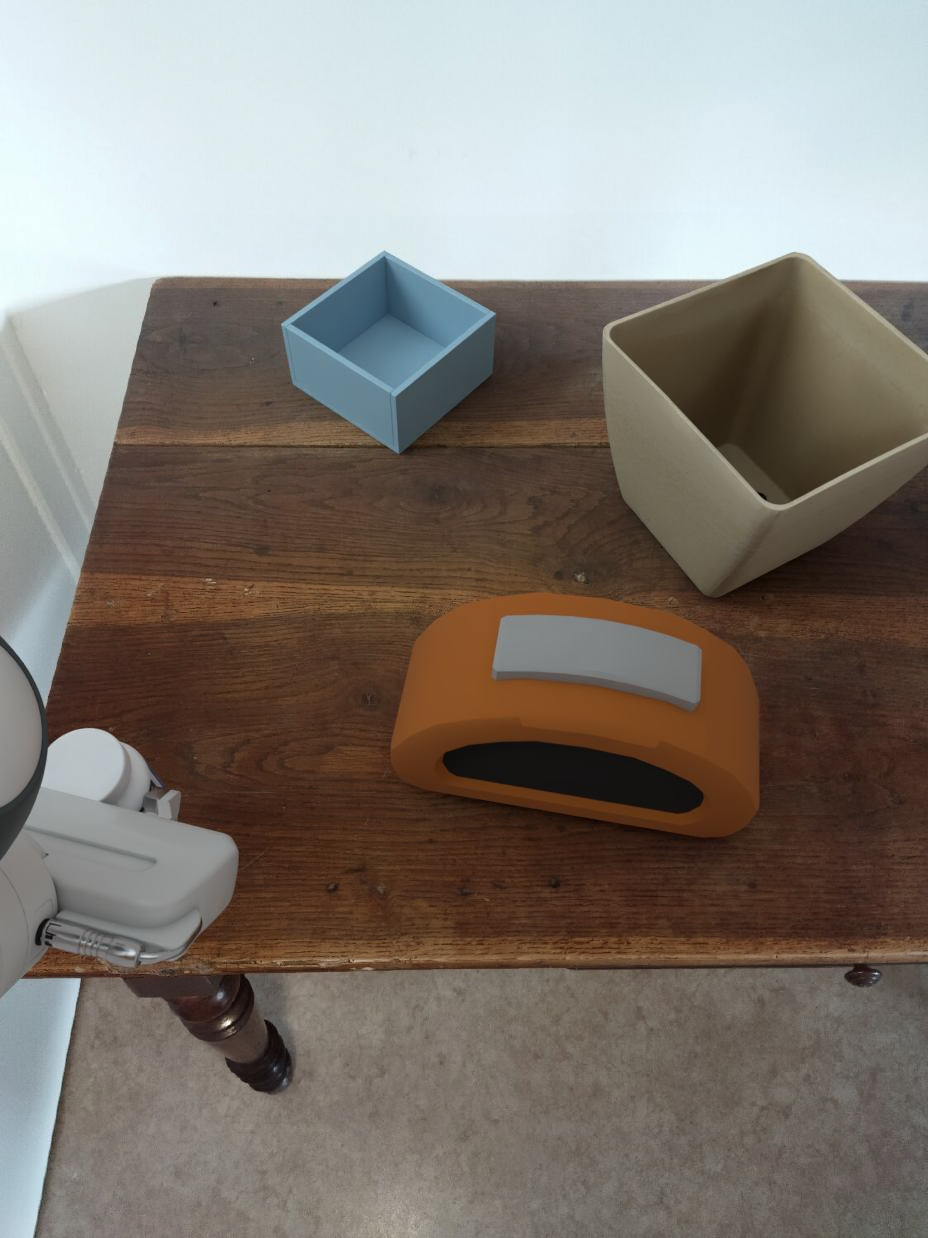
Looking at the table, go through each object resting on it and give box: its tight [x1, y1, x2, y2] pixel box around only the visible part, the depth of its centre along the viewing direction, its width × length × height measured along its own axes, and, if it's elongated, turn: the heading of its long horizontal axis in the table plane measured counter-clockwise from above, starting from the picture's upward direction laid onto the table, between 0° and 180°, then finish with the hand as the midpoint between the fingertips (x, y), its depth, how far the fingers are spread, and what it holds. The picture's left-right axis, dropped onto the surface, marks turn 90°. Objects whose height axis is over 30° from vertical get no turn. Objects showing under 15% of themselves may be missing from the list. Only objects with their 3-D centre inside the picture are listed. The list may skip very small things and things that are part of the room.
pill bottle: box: [41, 727, 179, 822], centre depth 52 cm, size 6×6×10 cm
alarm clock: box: [390, 591, 760, 839], centre depth 56 cm, size 23×9×17 cm, turn 80°
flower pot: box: [601, 251, 928, 599], centre depth 68 cm, size 19×19×17 cm
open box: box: [280, 250, 497, 455], centre depth 79 cm, size 13×13×7 cm
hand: (111, 785), depth 52 cm, fingers closed on pill bottle, 6 cm apart
